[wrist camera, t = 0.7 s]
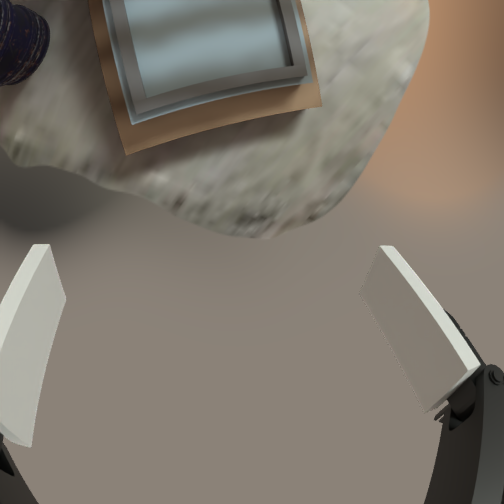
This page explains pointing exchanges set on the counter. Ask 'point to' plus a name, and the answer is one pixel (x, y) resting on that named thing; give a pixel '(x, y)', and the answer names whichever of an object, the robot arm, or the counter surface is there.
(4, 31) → the dark blue cylinder
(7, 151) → the counter surface
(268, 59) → the tower base
